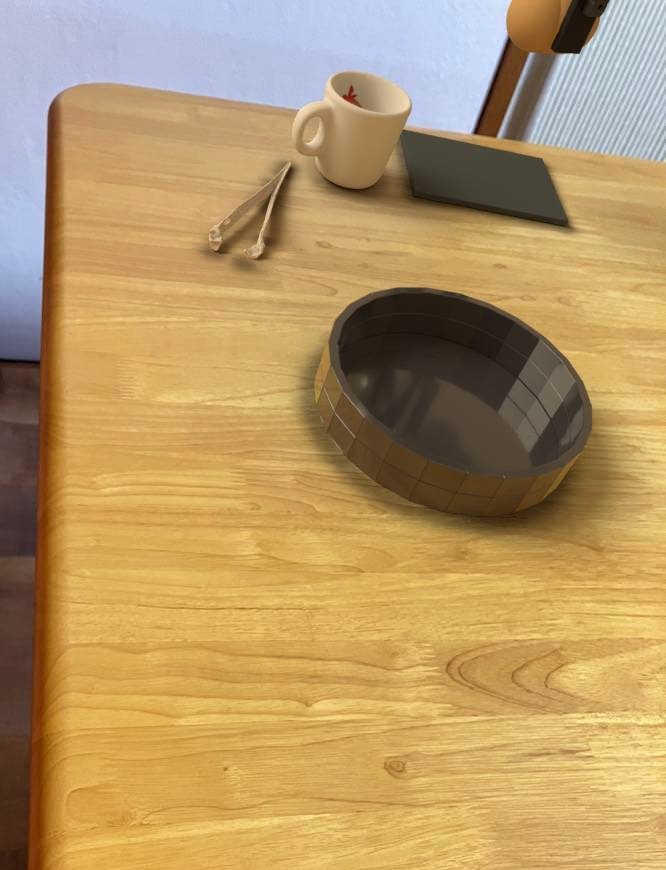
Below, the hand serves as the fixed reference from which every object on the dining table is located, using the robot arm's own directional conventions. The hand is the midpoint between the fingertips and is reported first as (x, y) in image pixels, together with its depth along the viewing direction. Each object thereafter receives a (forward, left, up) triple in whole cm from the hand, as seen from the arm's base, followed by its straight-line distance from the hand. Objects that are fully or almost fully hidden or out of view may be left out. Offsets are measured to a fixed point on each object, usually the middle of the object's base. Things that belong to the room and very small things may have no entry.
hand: (546, 33), depth 77 cm
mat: (0, -2, -15) cm, 15 cm away
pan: (+10, +35, -15) cm, 39 cm away
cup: (+16, +3, -15) cm, 22 cm away
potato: (0, 0, -1) cm, 1 cm away
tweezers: (+23, +11, -15) cm, 29 cm away
